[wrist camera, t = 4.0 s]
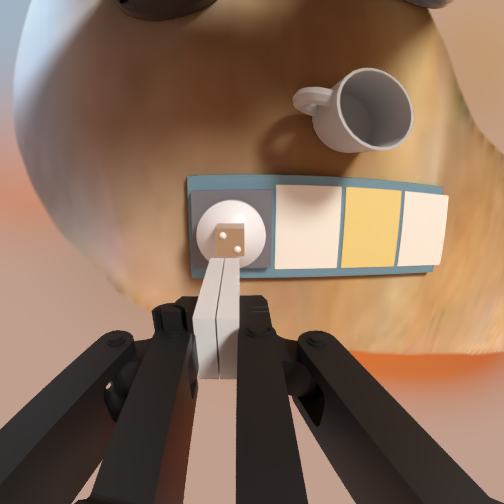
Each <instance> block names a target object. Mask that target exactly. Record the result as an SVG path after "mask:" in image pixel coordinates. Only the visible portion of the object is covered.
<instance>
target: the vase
mask: <svg viewBox="0 0 504 504" xmlns="http://www.w3.org/2000/svg"><path fill="white" fill-rule="evenodd" d="M406 1H408V2H410V3H413V4H415V5H418V6H421V7H425V8H431V9H437V8H443V7H445V6H447V5H448V4H450V3H451V2H453V1H454V0H406Z"/></svg>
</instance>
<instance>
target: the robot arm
mask: <svg viewBox="0 0 504 504" xmlns="http://www.w3.org/2000/svg"><path fill="white" fill-rule="evenodd" d="M114 1H115V2H116V4H117V5H118V6H119V7H120V9H121V10H122V11H124V12H125V13H126V14H128V15H130V16H132V17H135V18H138V19H143V20H167V19H173V18H178V17H182V16H185V15H188V14H191V13H193V12H196V11H198V10H200V9H202V8H204V7H206V6H208V5H210V4H211V3H213V2H214V1H215V0H114ZM152 316H153V321H154V328H155V333H154V335H153V337H152V338H151V339H147V340H140V341H134V339H133V336H132V335H131V334H130V333H129V332H126V331H120V330H116V331H112V332H109V333H106V334H104V335H103V336H101V337H100V338H99V339H98V340H97V341H96V342H94V343H93V344H92V345H91V346H90V347H89V348H88V349H87V350H86V351H84V352H83V353H82V354H81V355H80V356H79V357H78V358H76V359H75V360H74V361H73V362H72V363H71V364H70V365H69V366H68V367H66V369H64V370H63V371H62V372H61V373H60V374H59V375H58V376H57V377H55V378H54V379H53V380H52V381H51V382H50V383H49V384H48V385H47V386H46V387H45V388H43V389H42V391H40V392H39V393H38V394H37V395H36V396H35V397H34V398H33V399H32V400H31V401H30V402H29V403H28V404H26V405H25V406H24V407H23V408H22V409H21V410H20V411H19V412H18V413H17V414H16V415H15V416H14V417H13V418H12V419H11V420H10V421H9V422H8V423H7V424H6V425H5V426H4V427H3V428H1V430H0V504H71V503H72V502H73V501H74V499H75V498H76V496H77V495H78V493H79V492H80V491H81V489H82V488H83V486H84V485H85V484H86V482H87V481H88V479H89V478H90V476H91V475H92V474H93V472H94V471H95V469H96V468H97V467H98V465H99V464H100V462H101V461H102V460H103V461H102V463H101V467H100V469H99V472H98V475H97V478H96V481H95V484H94V487H93V489H92V492H91V494H90V496H89V497H88V498H87V499H84V500H78V501H77V502H76V503H74V504H183V499H184V489H185V481H186V473H187V465H188V457H189V450H190V442H191V434H192V427H193V420H194V413H195V406H196V399H197V392H198V382H197V374H198V372H199V378H200V379H219V374H220V379H237V408H236V409H237V410H236V416H237V417H236V504H308V500H307V495H306V489H305V483H304V478H303V473H302V467H301V461H300V456H299V450H298V445H297V440H296V435H295V429H294V424H293V419H292V413H291V408H290V402H289V397H288V395H291V396H292V398H293V401H294V403H295V405H296V406H297V408H298V410H299V412H300V413H301V415H302V417H303V418H304V420H305V422H306V424H307V425H308V427H309V429H310V430H311V432H312V434H313V435H314V437H315V439H316V440H317V442H318V444H319V445H320V447H321V449H322V450H323V452H324V453H325V455H326V457H327V458H328V460H329V461H330V463H331V465H332V466H333V468H334V470H335V471H336V473H337V474H338V476H339V477H340V479H341V480H342V482H343V484H344V486H345V487H346V489H347V490H348V492H349V493H350V495H351V497H352V498H353V500H354V501H355V503H356V504H504V503H502V502H499V501H497V500H495V499H492V498H490V497H489V496H488V495H487V494H486V493H485V492H484V491H483V490H482V489H481V488H480V487H479V486H478V485H477V484H476V483H475V482H474V481H473V480H472V479H471V478H470V477H469V476H468V475H467V473H465V471H464V470H463V469H461V467H460V466H459V465H458V464H457V463H456V462H455V461H454V460H453V459H452V458H451V457H450V456H449V455H448V454H447V453H446V452H445V451H444V450H443V449H442V448H441V447H440V446H439V445H438V443H437V442H435V440H434V439H433V438H432V437H431V436H430V435H429V434H428V433H427V432H426V431H425V430H424V429H423V428H422V427H421V426H420V425H419V424H418V423H417V422H416V421H415V420H414V419H413V418H412V417H411V416H410V415H409V414H408V413H407V412H406V411H405V409H404V408H403V407H402V406H401V405H400V404H399V403H398V402H397V401H396V400H395V399H394V398H393V397H392V396H391V395H390V394H389V393H388V392H387V391H386V390H385V389H384V388H383V387H382V386H381V385H380V384H379V383H378V382H377V380H375V378H373V376H372V375H371V374H370V373H369V372H368V371H367V370H366V369H365V368H364V367H363V366H362V365H361V364H360V363H359V362H358V361H357V360H356V359H355V358H354V357H353V356H352V355H351V354H350V353H349V351H348V350H347V349H346V348H345V347H344V346H343V345H342V344H341V343H340V342H339V341H338V340H337V339H336V338H335V337H334V336H332V335H331V334H329V333H326V332H323V331H308V332H305V333H303V334H301V335H300V336H299V338H298V341H294V340H288V339H284V338H282V337H280V336H278V335H277V334H276V331H275V329H274V328H273V327H272V324H271V319H270V313H269V308H268V303H267V300H266V299H265V298H264V297H263V296H262V295H253V296H240V269H239V258H225V263H224V258H210V261H209V264H208V267H207V271H206V274H205V277H204V280H203V284H202V287H201V290H200V294H199V297H190V296H182V297H181V298H180V299H178V300H177V301H176V302H175V303H167V304H163V305H159V306H157V307H155V308H154V309H153V310H152ZM109 382H110V383H111V386H110V388H109V389H106V386H107V385H108V383H109Z"/></svg>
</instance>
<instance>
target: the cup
mask: <svg viewBox="0 0 504 504" xmlns="http://www.w3.org/2000/svg"><path fill="white" fill-rule="evenodd" d="M292 101H293V105H294V107H295V108H296V109H297V110H299V111H301V112H302V113H304V114H307V115H310V116H312V122H313V127H314V130H315V132H316V134H317V136H318V137H319V139H320V140H321V141H322V142H323V143H324V144H325V145H326V146H328V147H329V148H330V149H333V150H335V151H337V152H343V153H356V152H368V151H382V150H391V149H393V148H396V147H398V146H400V145H401V144H402V143H403V142H404V141H405V140H406V139H407V137H408V136H409V134H410V132H411V129H412V126H413V115H414V112H413V107H412V103H411V100H410V98H409V96H408V94H407V92H406V90H405V89H404V87H403V86H402V85H401V83H400V82H398V81H397V80H396V79H395V78H394V77H393V76H391V75H390V74H388V73H386V72H384V71H382V70H379V69H375V68H361V69H358V70H354V71H353V72H351V73H350V74H348V75H347V76H346V77H344V78H343V79H342V80H341V81H339V82H338V83H337V84H336V85H334V86H333V87H332V88H331V89H327V88H322V87H306V88H302V89H300V90H298V91H297V92H296V93H295V95H294V96H293V97H292Z"/></svg>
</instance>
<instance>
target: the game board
mask: <svg viewBox="0 0 504 504" xmlns="http://www.w3.org/2000/svg"><path fill="white" fill-rule="evenodd" d="M187 187H188V219H189V240H190V258H191V274H192V278H204V277H205V274H206V271H207V267H208V264H209V261H208V260H207V259H206V258H205V257H204V256H203V254H202V253H201V251H200V249H199V247H198V244H197V238H196V232H197V226H198V223H199V221H200V219H201V217H202V216H203V214H204V213H205V212H206V211H207V209H208V208H210V207H211V206H212V205H213V204H215V203H217V202H219V201H222V200H226V199H237V200H241V201H244V202H246V203H248V204H250V205H251V206H252V207H254V208H255V209H256V210H257V212H258V213H259V215H260V216H261V218H262V221H263V223H264V226H265V231H266V241H265V245H264V248H263V250H262V252H261V254H260V255H259V256H258V257H257V259H256V260H254V261H253V262H252V263H250V264H249V265H247V266H245V267H242V268H239V269H240V278H279V277H322V276H354V275H381V274H403V273H424V272H433V267H434V265H440V261H441V255H442V249H443V242H444V235H445V227H446V218H447V208H448V196H446V195H443V187H440V186H432V185H424V184H416V183H407V182H397V181H386V180H375V179H362V178H347V177H330V176H308V175H263V174H238V175H193V176H187Z"/></svg>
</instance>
